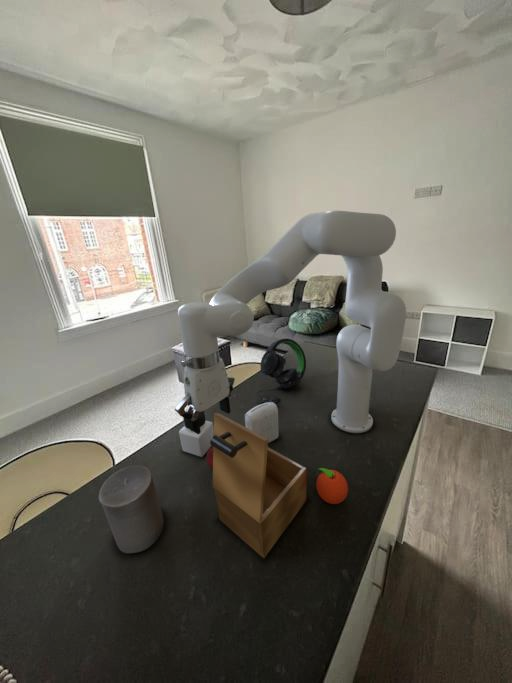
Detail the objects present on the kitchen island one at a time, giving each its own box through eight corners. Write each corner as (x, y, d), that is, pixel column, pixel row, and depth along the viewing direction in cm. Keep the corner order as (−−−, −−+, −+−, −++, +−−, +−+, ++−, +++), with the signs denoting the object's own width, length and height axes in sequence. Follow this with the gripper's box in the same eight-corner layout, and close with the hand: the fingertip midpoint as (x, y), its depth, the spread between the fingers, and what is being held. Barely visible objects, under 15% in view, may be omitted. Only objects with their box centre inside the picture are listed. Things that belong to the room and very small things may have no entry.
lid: (217, 412, 54) (196, 421, 50) (268, 439, 46) (248, 452, 42) (215, 484, 57) (195, 498, 54) (262, 520, 50) (243, 539, 46)
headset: (270, 417, 107) (302, 360, 120) (292, 419, 95) (325, 356, 109) (237, 388, 101) (275, 332, 115) (257, 387, 90) (296, 325, 104)
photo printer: (272, 430, 87) (270, 396, 82) (281, 437, 84) (279, 402, 79) (244, 444, 82) (241, 409, 77) (252, 452, 79) (249, 416, 74)
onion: (212, 480, 71) (208, 456, 68) (205, 465, 75) (201, 442, 73) (233, 471, 73) (230, 447, 70) (225, 456, 78) (222, 433, 75)
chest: (264, 473, 72) (261, 443, 68) (306, 500, 64) (306, 468, 60) (219, 519, 61) (214, 487, 57) (264, 558, 53) (261, 523, 49)
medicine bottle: (215, 441, 84) (210, 408, 80) (202, 458, 78) (196, 423, 74) (196, 435, 87) (190, 403, 82) (182, 451, 81) (174, 417, 77)
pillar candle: (149, 502, 66) (134, 453, 61) (173, 526, 60) (159, 474, 55) (107, 535, 59) (87, 483, 54) (130, 566, 53) (110, 511, 48)
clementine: (306, 493, 66) (306, 470, 63) (325, 477, 69) (326, 455, 67) (334, 517, 60) (335, 493, 57) (353, 499, 63) (355, 475, 61)
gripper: (180, 378, 54) (192, 447, 60) (241, 348, 66) (245, 409, 72) (159, 368, 58) (172, 433, 65) (219, 342, 71) (225, 399, 77)
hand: (211, 420), depth 68 cm, fingers open, 9 cm apart
